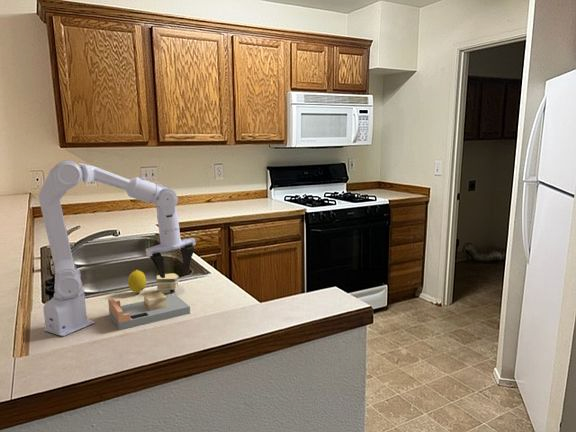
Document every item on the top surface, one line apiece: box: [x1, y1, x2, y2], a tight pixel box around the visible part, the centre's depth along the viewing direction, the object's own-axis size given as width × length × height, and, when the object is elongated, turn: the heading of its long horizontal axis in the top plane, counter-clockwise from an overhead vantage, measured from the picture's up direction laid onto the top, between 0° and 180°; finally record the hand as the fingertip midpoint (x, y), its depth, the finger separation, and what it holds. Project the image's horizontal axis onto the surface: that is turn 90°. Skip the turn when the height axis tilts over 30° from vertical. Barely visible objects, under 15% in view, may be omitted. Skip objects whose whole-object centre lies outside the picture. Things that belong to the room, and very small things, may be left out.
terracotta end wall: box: [107, 297, 131, 323], centre depth 116 cm, size 3×12×3 cm, turn 34°
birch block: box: [143, 291, 167, 311], centre depth 121 cm, size 5×5×3 cm
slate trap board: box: [108, 294, 191, 331], centre depth 121 cm, size 20×12×2 cm, turn 124°
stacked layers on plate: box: [156, 272, 180, 294], centre depth 139 cm, size 10×9×6 cm
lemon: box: [127, 269, 147, 294], centre depth 137 cm, size 6×6×8 cm
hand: (174, 273), depth 124 cm, fingers open, 7 cm apart
